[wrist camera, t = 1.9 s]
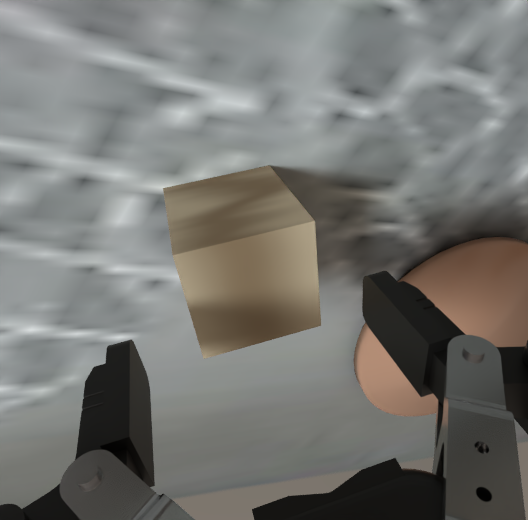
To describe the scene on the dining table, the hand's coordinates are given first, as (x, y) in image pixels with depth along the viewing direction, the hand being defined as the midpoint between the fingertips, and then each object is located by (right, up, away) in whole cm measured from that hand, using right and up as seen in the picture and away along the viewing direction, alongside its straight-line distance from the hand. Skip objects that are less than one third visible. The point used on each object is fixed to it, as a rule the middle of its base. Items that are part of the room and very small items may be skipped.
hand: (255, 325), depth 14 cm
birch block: (-2, +4, +6) cm, 8 cm away
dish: (+13, -2, +15) cm, 20 cm away
